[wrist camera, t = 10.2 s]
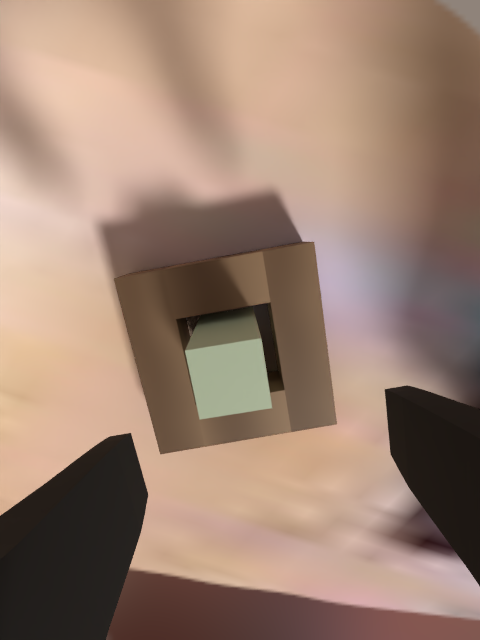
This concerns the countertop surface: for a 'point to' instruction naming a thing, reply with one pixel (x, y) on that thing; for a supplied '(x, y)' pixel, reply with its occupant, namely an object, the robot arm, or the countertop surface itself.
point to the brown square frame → (218, 295)
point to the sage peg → (228, 364)
